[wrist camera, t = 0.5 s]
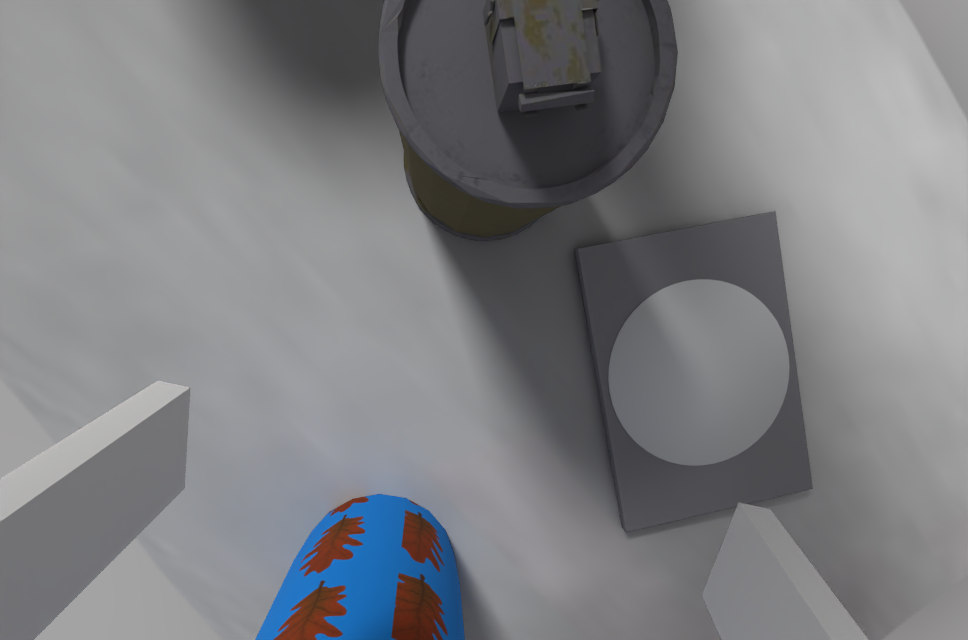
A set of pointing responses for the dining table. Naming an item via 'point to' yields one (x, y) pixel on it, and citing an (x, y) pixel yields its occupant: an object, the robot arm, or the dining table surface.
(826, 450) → the dining table surface
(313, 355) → the dining table surface
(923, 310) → the dining table surface
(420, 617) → the thermos
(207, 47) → the dining table surface
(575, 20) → the canister
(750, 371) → the circle mat
